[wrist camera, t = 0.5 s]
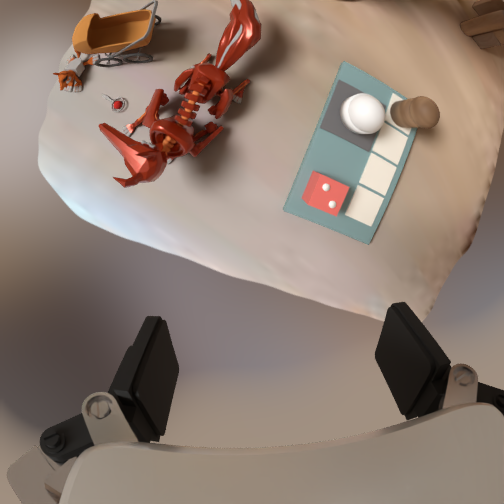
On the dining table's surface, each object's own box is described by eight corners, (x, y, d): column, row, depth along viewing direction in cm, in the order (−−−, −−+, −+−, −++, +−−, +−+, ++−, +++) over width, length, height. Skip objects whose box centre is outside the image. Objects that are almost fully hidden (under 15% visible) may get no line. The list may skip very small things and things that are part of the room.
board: (341, 63, 29) (355, 52, 24) (418, 110, 31) (439, 109, 26) (282, 208, 37) (288, 219, 32) (365, 242, 39) (380, 256, 34)
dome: (347, 89, 28) (362, 82, 24) (380, 107, 29) (398, 104, 24) (334, 122, 30) (347, 120, 25) (368, 140, 31) (385, 141, 26)
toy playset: (45, 100, 29) (-13, 98, 16) (139, -26, 21) (106, -67, 8) (207, 211, 37) (186, 250, 24) (323, 68, 30) (363, 34, 17)
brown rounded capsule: (394, 95, 29) (425, 88, 22) (416, 110, 30) (449, 107, 22) (385, 119, 30) (417, 116, 23) (408, 133, 31) (441, 135, 24)
